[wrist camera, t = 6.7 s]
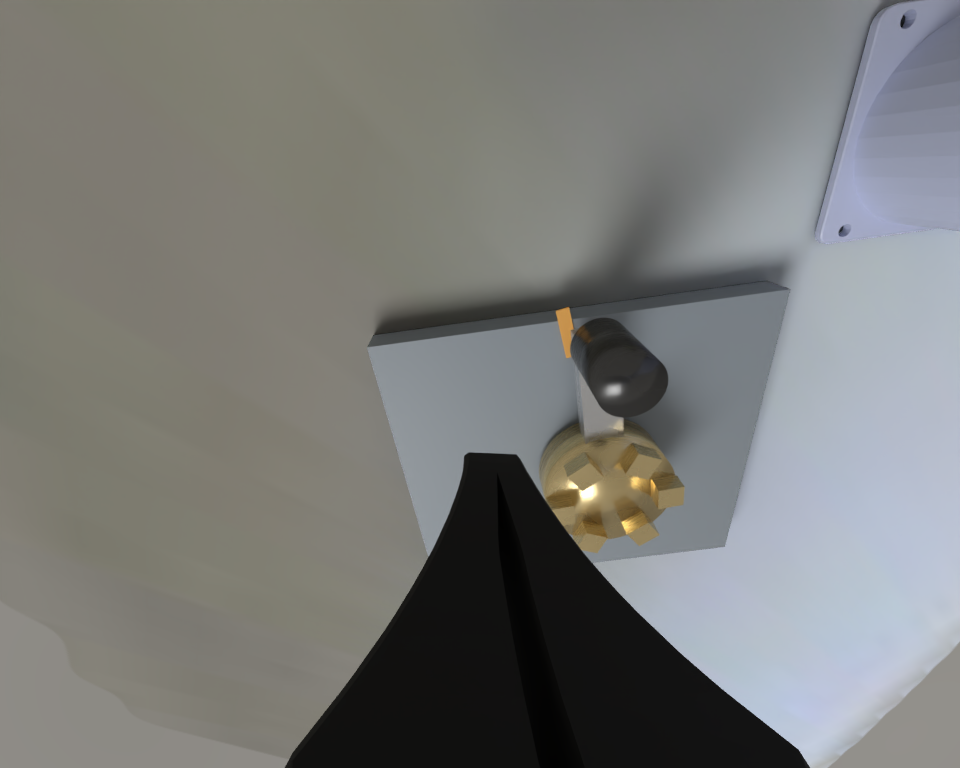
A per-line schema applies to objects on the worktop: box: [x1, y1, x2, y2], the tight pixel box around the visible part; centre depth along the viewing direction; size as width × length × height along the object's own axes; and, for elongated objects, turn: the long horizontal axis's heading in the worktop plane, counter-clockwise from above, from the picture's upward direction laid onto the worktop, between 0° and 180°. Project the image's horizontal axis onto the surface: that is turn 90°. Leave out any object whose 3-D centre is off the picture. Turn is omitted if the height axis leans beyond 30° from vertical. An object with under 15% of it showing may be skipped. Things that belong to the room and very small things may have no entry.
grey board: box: [367, 281, 790, 563], centre depth 22 cm, size 19×18×2 cm
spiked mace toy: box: [539, 318, 685, 553], centre depth 18 cm, size 12×6×5 cm, turn 11°
